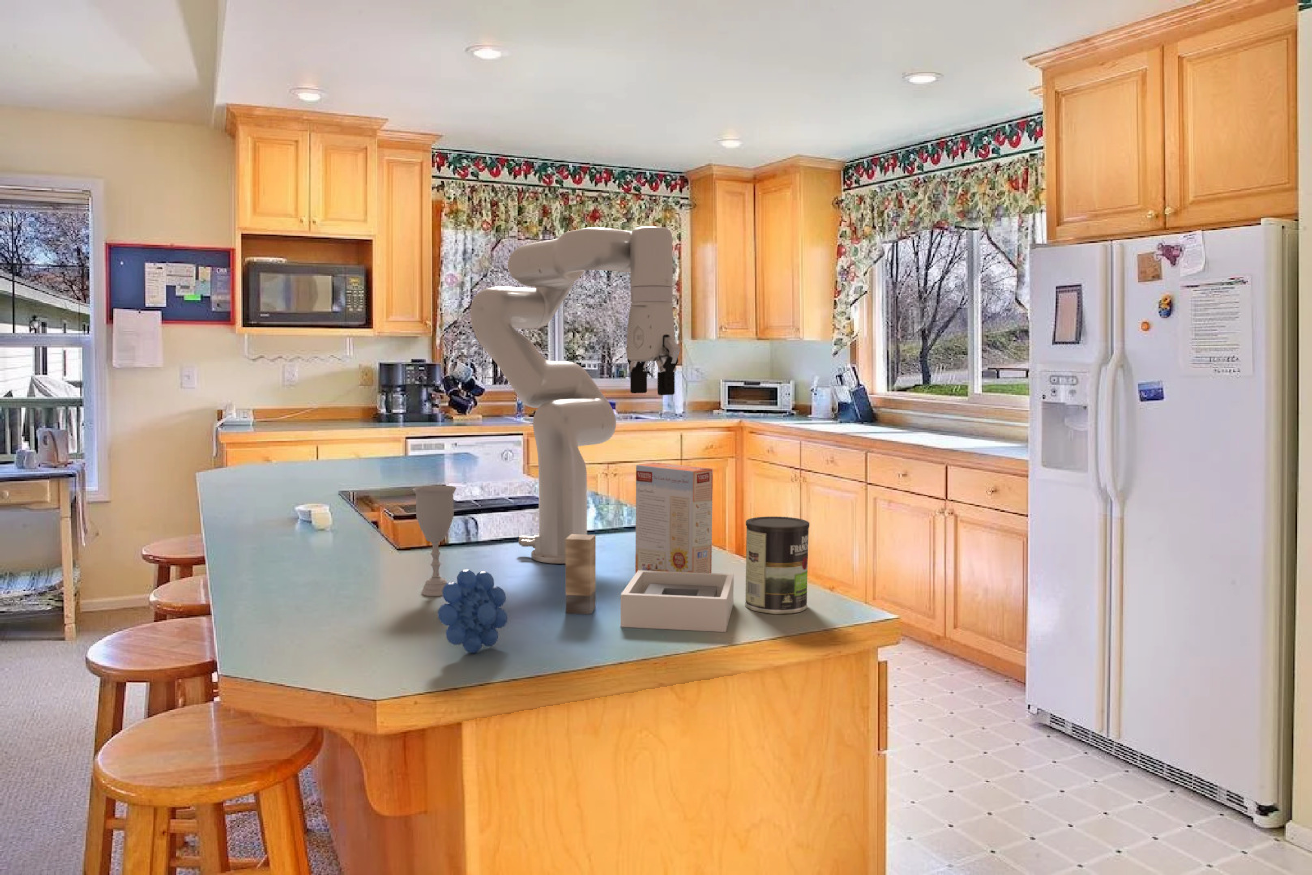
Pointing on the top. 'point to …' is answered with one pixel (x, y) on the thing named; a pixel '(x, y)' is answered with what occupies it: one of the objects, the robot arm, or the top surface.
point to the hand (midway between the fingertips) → (652, 393)
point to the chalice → (434, 527)
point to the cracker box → (673, 518)
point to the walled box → (678, 601)
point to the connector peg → (580, 573)
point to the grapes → (473, 610)
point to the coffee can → (776, 564)
